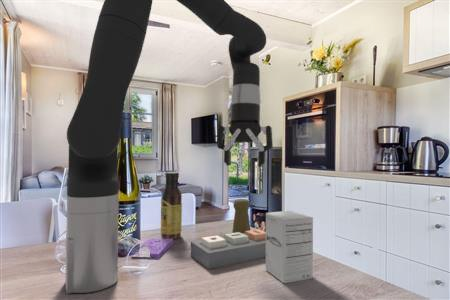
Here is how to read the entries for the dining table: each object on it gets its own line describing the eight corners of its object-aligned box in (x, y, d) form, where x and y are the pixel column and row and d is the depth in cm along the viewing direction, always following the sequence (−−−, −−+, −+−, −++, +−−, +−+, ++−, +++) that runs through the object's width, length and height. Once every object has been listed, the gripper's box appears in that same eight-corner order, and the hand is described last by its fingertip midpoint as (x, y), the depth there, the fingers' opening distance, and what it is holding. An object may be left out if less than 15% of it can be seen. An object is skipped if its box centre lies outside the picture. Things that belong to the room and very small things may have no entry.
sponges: (173, 245, 83) (173, 238, 83) (158, 260, 70) (158, 253, 70) (149, 244, 83) (149, 237, 83) (130, 259, 71) (130, 251, 71)
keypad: (208, 269, 64) (208, 253, 64) (190, 255, 72) (190, 241, 72) (280, 253, 74) (280, 240, 74) (257, 243, 82) (257, 231, 82)
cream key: (209, 252, 67) (209, 242, 67) (201, 247, 71) (201, 237, 71) (225, 249, 69) (225, 239, 69) (217, 244, 73) (217, 234, 73)
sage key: (233, 248, 70) (233, 238, 70) (224, 243, 74) (224, 233, 74) (248, 245, 72) (248, 235, 72) (238, 241, 76) (238, 231, 76)
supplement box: (264, 270, 63) (264, 212, 63) (293, 265, 66) (293, 210, 66) (282, 284, 56) (282, 219, 57) (314, 278, 59) (314, 216, 59)
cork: (251, 231, 96) (251, 198, 96) (250, 236, 90) (250, 200, 90) (232, 231, 96) (232, 197, 96) (231, 236, 90) (231, 200, 90)
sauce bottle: (159, 235, 91) (160, 171, 91) (179, 233, 93) (180, 171, 93) (161, 241, 85) (162, 172, 85) (183, 239, 86) (183, 172, 87)
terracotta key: (254, 244, 73) (254, 234, 73) (245, 240, 77) (245, 230, 77) (268, 242, 75) (268, 232, 75) (258, 237, 79) (258, 228, 79)
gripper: (215, 102, 75) (213, 165, 74) (270, 100, 70) (269, 167, 70) (223, 107, 82) (222, 165, 81) (274, 106, 78) (273, 166, 77)
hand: (244, 165), depth 76 cm, fingers open, 8 cm apart
